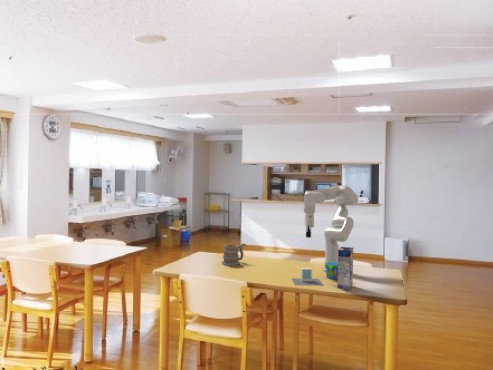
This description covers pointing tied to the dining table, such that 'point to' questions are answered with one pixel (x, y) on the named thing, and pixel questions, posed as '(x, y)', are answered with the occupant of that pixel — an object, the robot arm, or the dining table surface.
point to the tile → (306, 274)
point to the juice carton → (345, 268)
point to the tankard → (232, 254)
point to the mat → (307, 282)
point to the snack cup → (331, 270)
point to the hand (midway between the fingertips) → (308, 237)
